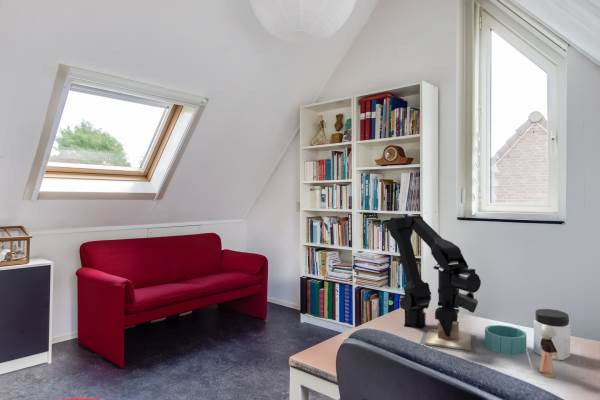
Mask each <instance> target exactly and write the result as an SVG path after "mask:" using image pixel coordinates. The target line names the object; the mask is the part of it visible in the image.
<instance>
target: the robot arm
mask: <svg viewBox="0 0 600 400" xmlns="http://www.w3.org/2000/svg"><path fill="white" fill-rule="evenodd" d="M422 216H423V215H419V214H413V215H412V214H410V215H408V216H398V217H397V216H396V217H395V216H394V217H391V218H390V219H389V220H388V222H387V229H388V232H389V234H390V236H391V237H392V238H393V240H394V241H395V242H396V244H397V248H398V252H399V255H400V261H401V265H402V268H403V272H404V277H405V281H406V283H405V286H404V289H403V292H404V296H403V297H402V298H401V300H400V301H399V306H400V307H399V308H400V309H401V310H402V309H403V310H404V324H403V327H404V328H412V329H422V330H423V329H424V327H425V326H426V325H427V314H426V312H425V309H429V307H430V303H431V301H432V292H431V290H430V284H429V283H428V282H425V281H424V280H423V279H422V278H421V276H420V275H421V274H420V271H419V268H418V263H417V260H416V254H415V251H414V247H413V243H412V235H413V233H416V234H417V235H418V236H419V238H420V239H421V240H422V241H423V242H424V243H425V244H426V245H427V246H428V247H429V249H430V254H431V255H432V257H433V258H434V260H435V262H436V263H437V264H435V265H434V266H433V269H434V270H437V271H438V272H437V273H438V274H437V275H438V276H437V277H438V279H437V280H438V283H437V285H438V288H437V294H438V301H437V306H438V307H437V308H436V309H435V312H434V319H435V320H439V322H440V324H441V326H442V328H443V330H444V333H445V335H446V336H447V337H450V333H451V328H452V323H453V321H454V322H458V318H459V312H460V309H459V308H462V309H464V310H467V311H468V312H470V313H472V314H474V313H475V311H476V309H477V307H478V303H479V300H478V299H477V298H475V295H474V293H477V292H478V291H479V289H480V287H481V285H482V281H481V278H480V276H479V275H478V274H477V273H476V269H475V268H469V265H468V262H467V261H466V259H465V257H464V255H463V253H462V250H461V249H460V247H459V246H458V245H456V244H454V243H453V242H452V241H449V240H447V239H445V238H443V237H442V236H440V234H438V233H437V232H436V231H435V230H434V229H433V228H432V227H431V226H430V225H429V224H428V223H427V222H426V220H424V218H423V217H422ZM460 290H461V291H464V292H466V293H461V292H460Z"/></svg>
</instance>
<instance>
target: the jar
mask: <svg viewBox="0 0 600 400" xmlns="http://www.w3.org/2000/svg"><path fill="white" fill-rule="evenodd" d="M534 314H535V319H533V352H535V353H536V354H537V355H539V356H540V357H542V351H543V350H542V349H540V345H541V344H540V343H541V339H542V338H543V337H542V335H541V332H542V329H541V328H542V326H543V325H547V326H550V327H552V328H553V329H554V331H555V332H556V334H557V335H556V336H554V337H552V339H551V340H552V342H553V344H554V346H555V348H556V350H557V357H558V359H557V360H558V361H563V360H566V359H568V358H570V357H571V323H570V318H569V314H568V313H567V312H564V311H561V310H559V309H558V310H557V309H551V308H539V309H536V310H535V313H534ZM552 358H553V355H552ZM557 360H556V361H557Z"/></svg>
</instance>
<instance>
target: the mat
mask: <svg viewBox="0 0 600 400" xmlns="http://www.w3.org/2000/svg"><path fill="white" fill-rule="evenodd" d="M429 329H430V328H429ZM429 329H428V328H425V329H424V331H423V334H422V336H421V339H420V341H419V344H423V345H426V346H429V347H432V348H431V349H436V350H437V349H438V350H444V351H453V352H458V353H466V354H472V355H476V354H477V334H471V348H470V350H463V349H456V348H449V347H441V346H434V345H427V344H424V342H425V339H426V336H427V333H428V331H429ZM429 347H428V348H429Z"/></svg>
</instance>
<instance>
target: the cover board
mask: <svg viewBox="0 0 600 400" xmlns="http://www.w3.org/2000/svg"><path fill="white" fill-rule="evenodd" d="M459 322H460V321H456V322H454V321H453V323H452V328H451V333H450V337H447V336H446V335H445V333H444V330H443V328H442V326H441V324H440V322H439V320H438V322H437V329H436V328H429V331H428V333H427V336H426V339H425V342H424V344H427V345H434V346H441V347H449V348H456V349H463V350H470V348H471V335H472V333H468V332H460V324H459Z"/></svg>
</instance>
